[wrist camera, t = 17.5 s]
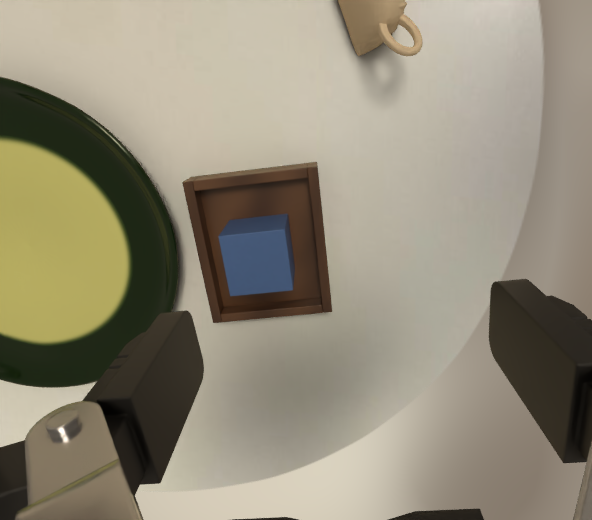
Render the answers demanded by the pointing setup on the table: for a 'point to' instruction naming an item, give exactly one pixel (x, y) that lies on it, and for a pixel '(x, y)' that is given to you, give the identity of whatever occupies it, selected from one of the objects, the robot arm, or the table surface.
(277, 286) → the cube
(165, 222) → the plate
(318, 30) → the table surface
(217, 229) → the tray
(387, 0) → the decorative ornament
